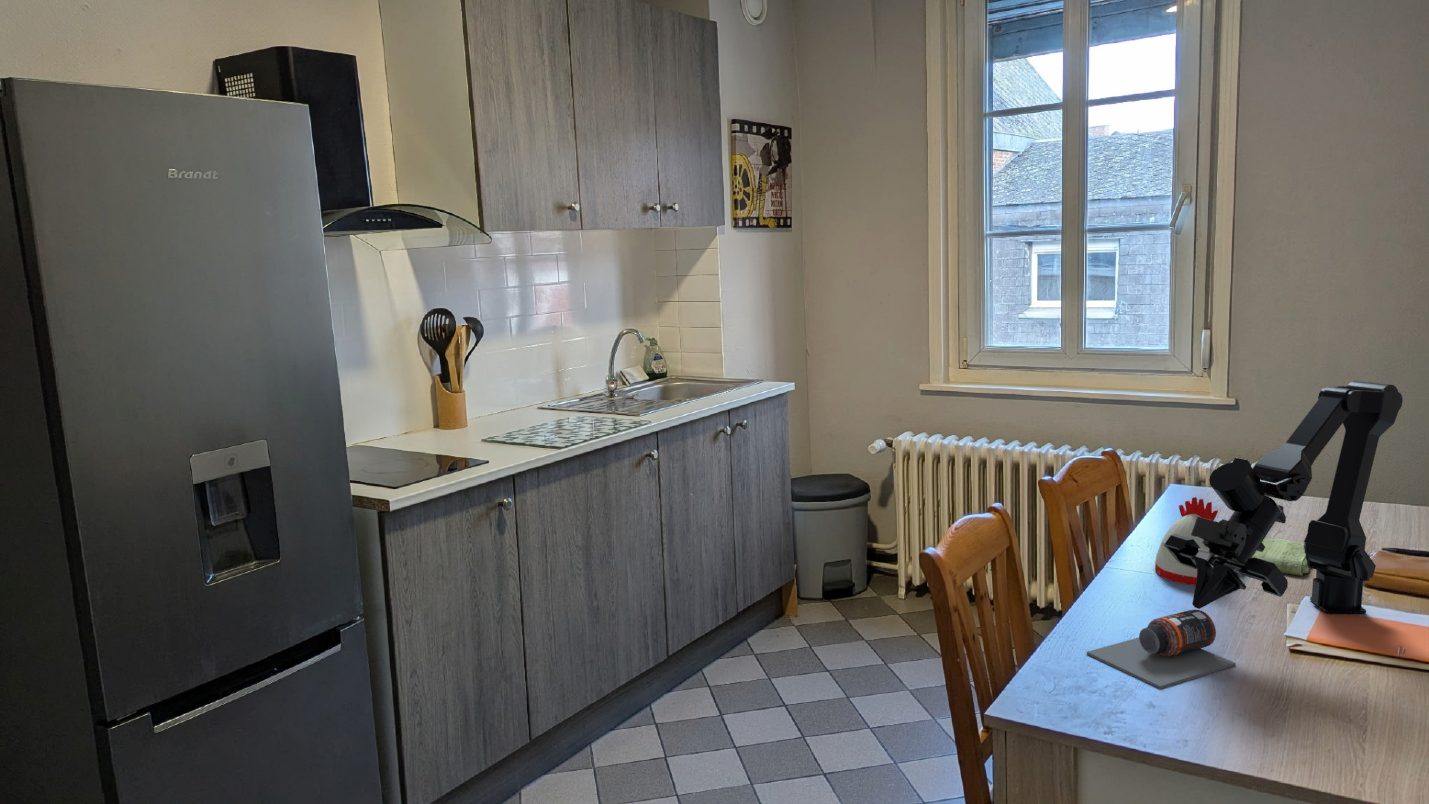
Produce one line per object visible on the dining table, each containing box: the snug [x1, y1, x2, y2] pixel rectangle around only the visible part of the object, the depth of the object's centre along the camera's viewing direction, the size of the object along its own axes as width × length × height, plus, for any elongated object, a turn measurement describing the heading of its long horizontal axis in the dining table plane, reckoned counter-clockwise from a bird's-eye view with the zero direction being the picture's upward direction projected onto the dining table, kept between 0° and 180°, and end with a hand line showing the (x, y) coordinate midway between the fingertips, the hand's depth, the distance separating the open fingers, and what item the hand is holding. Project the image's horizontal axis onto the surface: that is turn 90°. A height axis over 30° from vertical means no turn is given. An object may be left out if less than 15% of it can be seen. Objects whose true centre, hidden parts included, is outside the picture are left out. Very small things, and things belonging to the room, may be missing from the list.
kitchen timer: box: [1154, 496, 1219, 586], centre depth 190 cm, size 14×14×15 cm
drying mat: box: [1086, 637, 1236, 690], centre depth 154 cm, size 16×14×1 cm
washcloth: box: [1252, 537, 1310, 577], centre depth 198 cm, size 13×18×3 cm
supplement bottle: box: [1138, 609, 1217, 657], centre depth 155 cm, size 6×6×11 cm
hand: (1195, 606), depth 157 cm, fingers closed
